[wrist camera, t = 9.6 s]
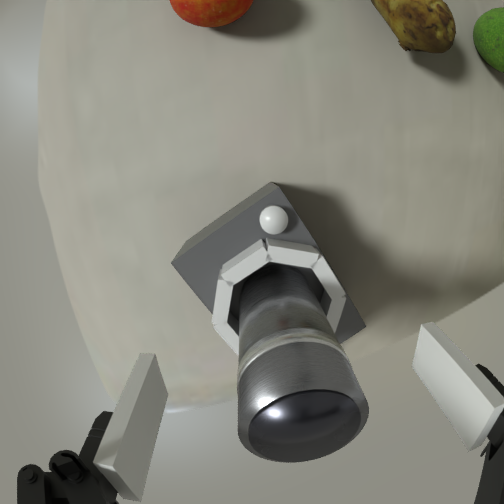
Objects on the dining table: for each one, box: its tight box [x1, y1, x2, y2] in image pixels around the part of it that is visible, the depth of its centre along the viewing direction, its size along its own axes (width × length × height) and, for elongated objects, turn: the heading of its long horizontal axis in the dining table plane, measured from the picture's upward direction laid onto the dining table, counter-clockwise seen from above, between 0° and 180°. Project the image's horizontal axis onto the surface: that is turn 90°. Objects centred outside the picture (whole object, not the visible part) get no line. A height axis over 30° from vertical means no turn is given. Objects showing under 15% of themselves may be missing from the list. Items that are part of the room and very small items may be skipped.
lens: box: [237, 265, 369, 463], centre depth 16 cm, size 5×5×12 cm
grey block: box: [171, 182, 366, 356], centre depth 24 cm, size 13×9×8 cm
